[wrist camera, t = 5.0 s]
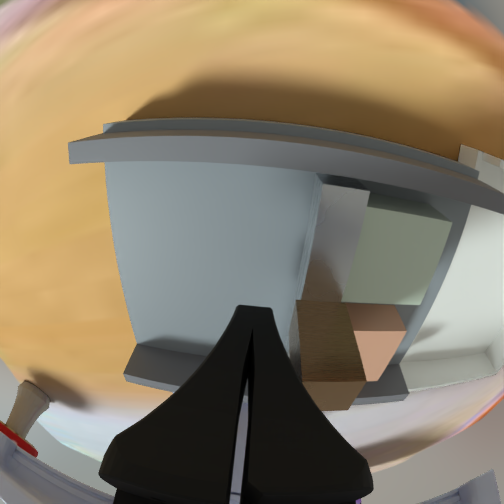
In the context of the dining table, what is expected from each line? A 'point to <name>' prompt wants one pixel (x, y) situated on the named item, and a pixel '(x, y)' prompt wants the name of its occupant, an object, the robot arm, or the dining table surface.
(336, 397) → the pale grey block
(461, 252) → the box
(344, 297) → the sage tile
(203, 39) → the dining table surface
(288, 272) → the plate
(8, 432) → the decorative mushroom
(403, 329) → the terracotta tile
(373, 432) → the dining table surface
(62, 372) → the dining table surface
